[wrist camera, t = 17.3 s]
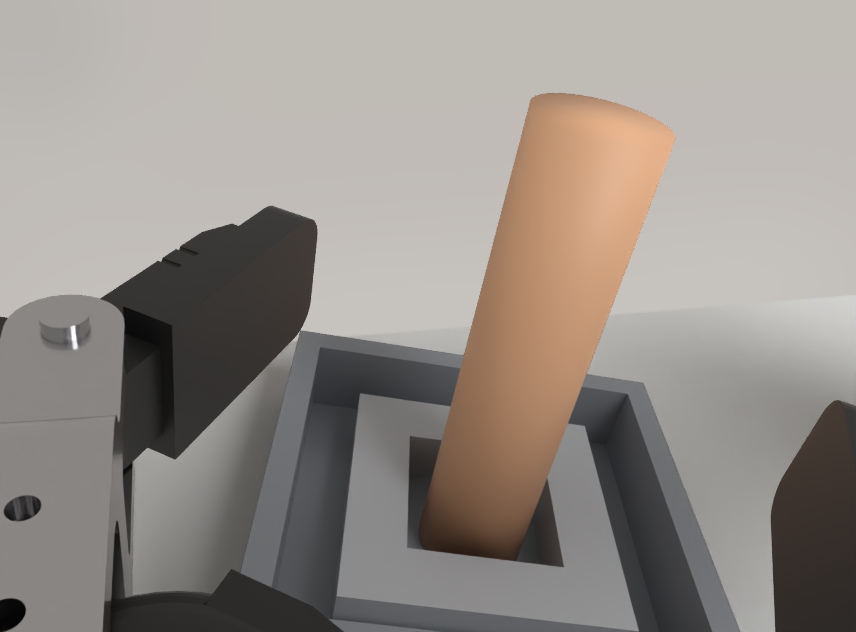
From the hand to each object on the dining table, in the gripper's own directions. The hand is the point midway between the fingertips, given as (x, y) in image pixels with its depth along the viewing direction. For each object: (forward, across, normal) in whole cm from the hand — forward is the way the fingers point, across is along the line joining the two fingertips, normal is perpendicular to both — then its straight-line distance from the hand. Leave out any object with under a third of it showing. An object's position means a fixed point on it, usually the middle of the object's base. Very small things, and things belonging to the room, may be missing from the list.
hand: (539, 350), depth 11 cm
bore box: (+10, +1, +17) cm, 20 cm away
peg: (+10, +1, +16) cm, 20 cm away
